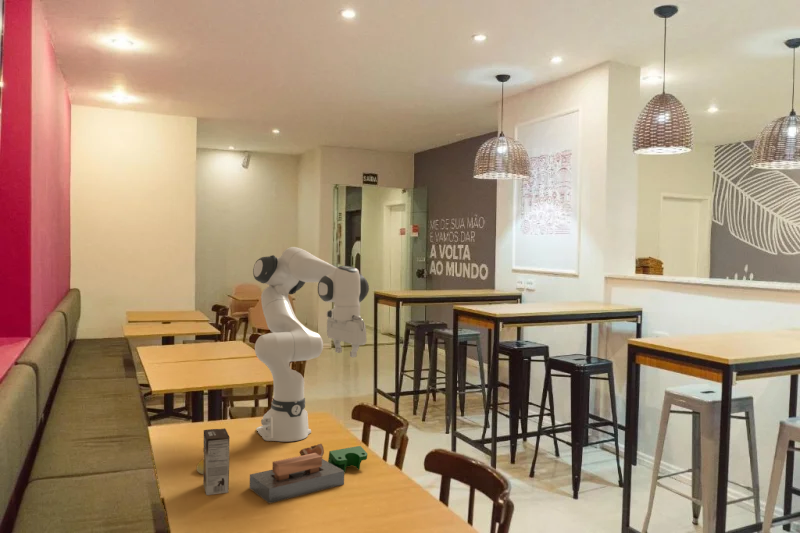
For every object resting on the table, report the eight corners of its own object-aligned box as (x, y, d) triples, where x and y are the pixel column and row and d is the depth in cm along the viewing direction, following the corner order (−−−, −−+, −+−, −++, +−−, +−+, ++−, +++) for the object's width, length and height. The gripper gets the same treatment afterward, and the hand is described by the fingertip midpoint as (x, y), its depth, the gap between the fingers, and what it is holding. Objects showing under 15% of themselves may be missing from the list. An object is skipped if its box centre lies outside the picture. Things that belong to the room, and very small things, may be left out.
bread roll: (198, 467, 191) (198, 454, 191) (227, 466, 193) (228, 453, 193) (194, 476, 183) (194, 463, 183) (225, 475, 185) (225, 462, 185)
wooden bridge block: (272, 489, 174) (272, 461, 174) (314, 479, 182) (315, 452, 182) (278, 493, 171) (278, 465, 171) (321, 483, 179) (321, 456, 179)
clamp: (339, 485, 189) (332, 464, 185) (331, 475, 194) (324, 453, 190) (372, 466, 194) (365, 444, 190) (363, 456, 199) (357, 435, 195)
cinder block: (249, 488, 174) (249, 474, 174) (321, 471, 189) (322, 458, 189) (269, 503, 164) (269, 488, 164) (344, 484, 179) (344, 470, 179)
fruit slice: (306, 466, 193) (307, 451, 193) (294, 461, 198) (294, 446, 198) (327, 460, 199) (327, 445, 199) (315, 455, 204) (315, 440, 204)
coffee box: (202, 484, 177) (203, 429, 176) (225, 481, 179) (225, 427, 179) (205, 495, 168) (206, 438, 168) (229, 492, 171) (230, 436, 171)
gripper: (371, 317, 198) (370, 359, 198) (339, 310, 214) (338, 349, 214) (355, 318, 194) (354, 360, 194) (323, 311, 210) (323, 350, 211)
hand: (345, 354), depth 204 cm, fingers open, 8 cm apart
